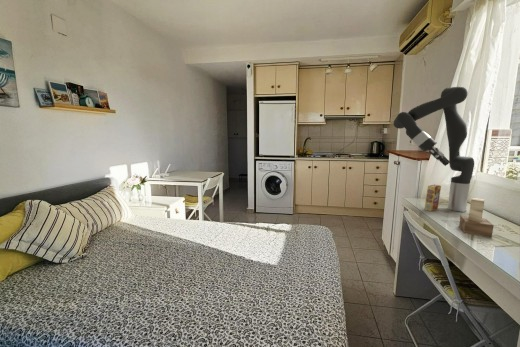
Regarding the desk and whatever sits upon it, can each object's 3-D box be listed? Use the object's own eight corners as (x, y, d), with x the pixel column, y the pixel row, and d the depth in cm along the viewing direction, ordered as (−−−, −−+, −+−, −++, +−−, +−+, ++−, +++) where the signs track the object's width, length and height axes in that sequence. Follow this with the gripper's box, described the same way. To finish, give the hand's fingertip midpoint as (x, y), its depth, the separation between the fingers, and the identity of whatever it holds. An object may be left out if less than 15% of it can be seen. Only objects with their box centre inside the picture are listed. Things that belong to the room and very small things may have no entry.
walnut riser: (458, 226, 126) (460, 215, 126) (484, 230, 122) (486, 218, 121) (464, 233, 118) (465, 221, 117) (491, 237, 113) (493, 225, 112)
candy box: (432, 211, 151) (434, 186, 149) (424, 209, 155) (427, 185, 152) (438, 209, 156) (441, 185, 154) (430, 207, 159) (433, 184, 157)
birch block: (469, 217, 122) (472, 197, 121) (481, 219, 119) (484, 199, 117) (468, 219, 119) (471, 199, 117) (480, 222, 116) (483, 201, 114)
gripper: (428, 136, 128) (454, 160, 123) (431, 136, 139) (455, 158, 134) (415, 146, 132) (439, 170, 127) (419, 145, 143) (442, 167, 138)
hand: (447, 163), depth 130 cm, fingers open, 8 cm apart
